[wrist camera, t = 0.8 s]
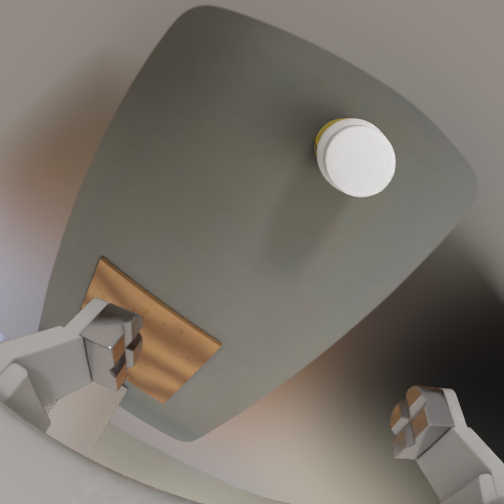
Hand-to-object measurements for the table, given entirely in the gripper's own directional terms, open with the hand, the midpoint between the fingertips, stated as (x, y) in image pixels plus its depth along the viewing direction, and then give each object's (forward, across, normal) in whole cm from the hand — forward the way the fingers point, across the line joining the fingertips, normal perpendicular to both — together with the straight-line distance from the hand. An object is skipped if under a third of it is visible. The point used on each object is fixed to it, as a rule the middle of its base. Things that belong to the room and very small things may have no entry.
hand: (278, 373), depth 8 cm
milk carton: (+19, +20, +34) cm, 44 cm away
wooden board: (+19, +14, +22) cm, 32 cm away
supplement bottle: (+19, -2, -5) cm, 20 cm away
